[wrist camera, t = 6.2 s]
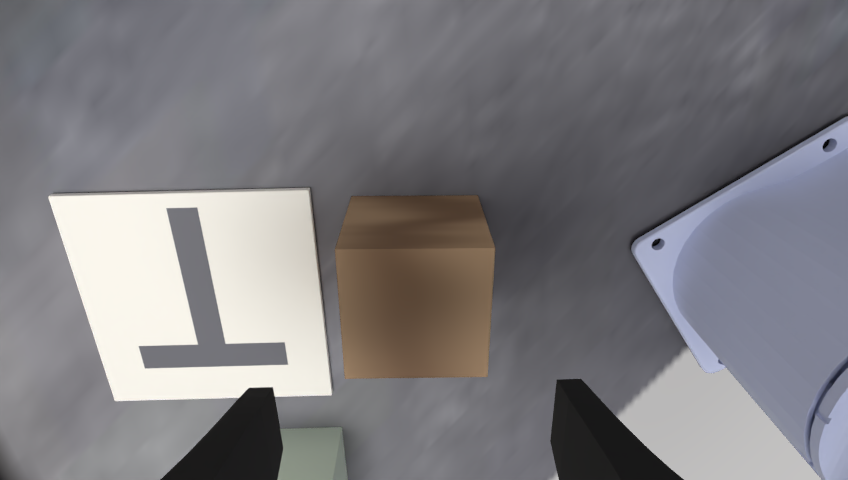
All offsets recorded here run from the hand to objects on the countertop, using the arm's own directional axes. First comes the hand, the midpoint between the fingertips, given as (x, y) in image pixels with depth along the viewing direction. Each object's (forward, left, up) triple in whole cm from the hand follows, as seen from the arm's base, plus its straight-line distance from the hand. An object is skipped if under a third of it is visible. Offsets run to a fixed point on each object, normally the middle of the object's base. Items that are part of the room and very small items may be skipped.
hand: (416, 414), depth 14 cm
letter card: (+9, -3, -9) cm, 13 cm away
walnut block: (0, 0, -10) cm, 10 cm away
